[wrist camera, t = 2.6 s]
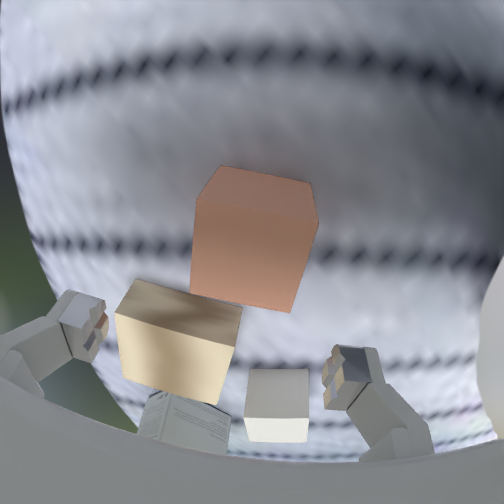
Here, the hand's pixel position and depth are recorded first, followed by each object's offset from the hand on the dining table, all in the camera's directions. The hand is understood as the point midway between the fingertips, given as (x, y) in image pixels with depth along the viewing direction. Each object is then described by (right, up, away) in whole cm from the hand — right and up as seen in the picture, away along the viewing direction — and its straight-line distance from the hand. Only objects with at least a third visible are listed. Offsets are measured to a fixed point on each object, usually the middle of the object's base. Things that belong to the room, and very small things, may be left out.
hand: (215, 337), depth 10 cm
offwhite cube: (+4, -9, +16) cm, 19 cm away
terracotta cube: (+2, +5, +8) cm, 9 cm away
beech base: (-4, -3, +14) cm, 15 cm away
